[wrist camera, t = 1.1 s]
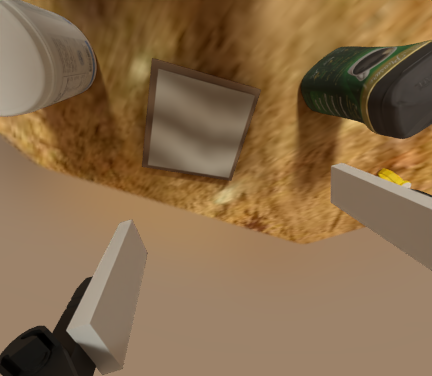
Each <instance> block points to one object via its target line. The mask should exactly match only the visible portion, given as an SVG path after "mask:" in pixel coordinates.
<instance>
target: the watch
mask: <svg viewBox="0 0 432 376" xmlns="http://www.w3.org/2000/svg"><path fill="white" fill-rule="evenodd" d="M377 174H378V176H379V177H380V178H382V179H385V180H388V181H390V182H393V183H395V184H398V185H401V186H403V187H406V188H410V187H411V183H410V182H409V181H403V180H402V179H401V178H400V177H399V176H398V175H396V174H395V173H394V172H392V171H390V170H388V169H385V168H383V169H382V170H380V171H379V172H378V173H377Z"/></svg>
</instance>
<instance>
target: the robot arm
mask: <svg viewBox="0 0 432 376" xmlns="http://www.w3.org/2000/svg"><path fill="white" fill-rule="evenodd" d="M331 203H332V204H334V205H335V206H337V207H338V208H340V209H341V210H343V211H344V212H346V213H347V214H349V215H350V216H352V217H353V218H355V219H356V220H358V221H359V222H360V223H362V224H363V225H365V226H366V227H368V228H370V229H371V230H372V231H374V232H375V233H377V234H378V235H380V236H381V237H383V238H384V239H386V240H387V241H389V242H390V243H392V244H393V245H394V246H396V247H397V248H399V249H400V250H402V251H403V252H405V253H406V254H408V255H409V256H411V257H412V258H414V259H415V260H417V261H418V262H420V263H421V264H423V265H424V266H426V267H427V268H428V269H430V270H431V271H432V195H430V194H427V193H425V192H422V191H419V190H414V189H409V188H406V187H403V186H401V185H398V184H395V183H393V182H390V181H388V180H385V179H382V178H380V177H377V176H375V175H372V174H369V173H367V172H364V171H362V170H359V169H356V168H354V167H351V166H349V165H346V164H343V163H340V164H336V165H333V166H331ZM147 254H148V253H147V251H146V249H145V247H144V244H143V242H142V240H141V238H140V235H139V233H138V231H137V229H136V227H135V224H134V223H133V220H128V221H124V222H121V223H120V224H119V225H118V227H117V230H116V232H115V233H114V236H113V238H112V239H111V241H110V243H109V246H108V247H107V249H106V252H105V253H104V256H103V258H102V260H101V262H100V263H99V265H98V268H97V270H96V272H95V274H94V276H93V277H89V278H86V279H85V280H84V281H83V282H82V283H81V284H80V286H79V287H78V288H77V289H76V291H75V293H74V295H73V296H72V298H71V301H70V302H69V304H68V305H67V309H66V310H65V311H64V313H63V314H62V316H61V318H60V320H59V322H58V324H57V325H56V327H55V329H54V331H53V333H51V332H50V331H49V330H48V329H47V328H46V327H45V326H36V327H34V328H31V329H29V330H27V331H26V332H24V333H22V334H21V335H20V336H18V337H17V338H16V339H15V340H14V341H12V342H11V343H10V344H9V345H8V346H7V347H6V349H5V350H4V351H3V352H2V353H1V355H0V374H2V375H3V376H93V374H94V371H95V368H96V367H97V369H98V370H99V371H100V372H101V374H102V375H104V374H108V373H111V372H114V371H117V370H121V369H123V365H124V360H125V355H126V351H127V346H128V341H129V337H130V332H131V328H132V323H133V318H134V314H135V309H136V304H137V300H138V296H139V291H140V286H141V282H142V277H143V272H144V268H145V263H146V258H147Z"/></svg>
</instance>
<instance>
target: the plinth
mask: <svg viewBox="0 0 432 376" xmlns="http://www.w3.org/2000/svg"><path fill="white" fill-rule="evenodd" d="M260 92H261V90H260V89H257V88H254V87H251V86H248V85H244V84H241V83H237V82H234V81H230V80H227V79H223V78H220V77H216V76H213V75H209V74H206V73H203V72H199V71H196V70H192V69H189V68H185V67H182V66H178V65H175V64H171V63H168V62H164V61H161V60H157V59H153V58H152V65H151V76H150V86H149V97H148V108H147V118H146V129H145V139H144V150H143V161H142V167H147V168H153V169H160V170H166V171H172V172H179V173H185V174H192V175H198V176H204V177H211V178H217V179H223V180H230V181H231V180H232V177H233V174H234V171H235V168H236V165H237V162H238V159H239V156H240V153H241V149H242V146H243V143H244V140H245V137H246V134H247V131H248V128H249V125H250V122H251V119H252V116H253V113H254V110H255V107H256V104H257V101H258V98H259V95H260Z"/></svg>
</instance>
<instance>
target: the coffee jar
mask: <svg viewBox="0 0 432 376" xmlns="http://www.w3.org/2000/svg"><path fill="white" fill-rule="evenodd" d="M301 92H302V95H303V98H304V100H305V102H306V104H307V105H308V107H309V108H310V109H311V110H313V111H316V112H319V113H323V114H328V115H333V116H338V117H343V118H347V119H351V120H355V121H358V122H361V123H364V124H365V125H366V126H367V127H368V128H369V129H370V130H371V131H372V132H374V133H376V134H379V135H384V136H389V137H394V138H399V139H405V138H409V137H411V136H413V135H415V134H417V133H418V132H420V131H422V130H423V129H425V128H426V127H428V126H430V125H431V124H432V40H429V41H424V42H420V43H416V44H411V45H405V46H397V47H340V48H338V49H336V50H334V51H332V52H331V53H330V54H328V55H327V56H325V57H324V58H323V59H321V60H320V61H319V62H318V63H317V64H315V65H314V66H313V67H312V68H311V69H310V70H309V71H308V72H307V74H306V75H305V76H304V78H303V80H302V84H301Z"/></svg>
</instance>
